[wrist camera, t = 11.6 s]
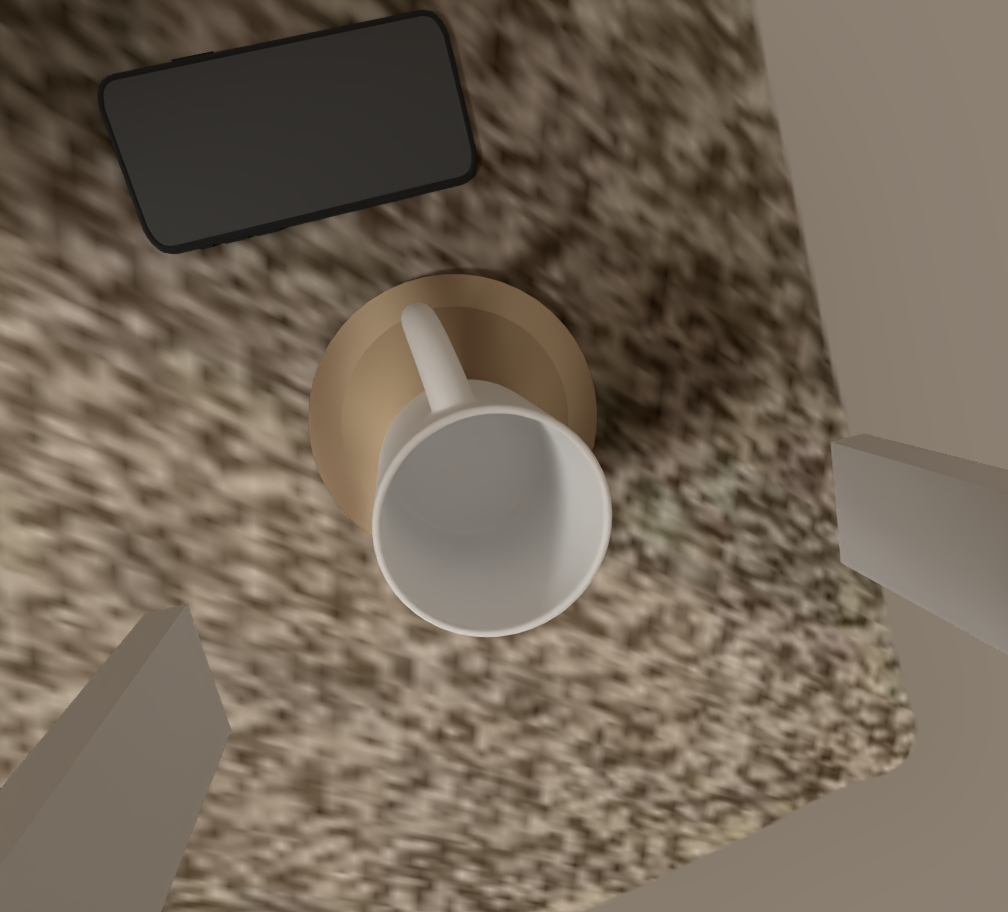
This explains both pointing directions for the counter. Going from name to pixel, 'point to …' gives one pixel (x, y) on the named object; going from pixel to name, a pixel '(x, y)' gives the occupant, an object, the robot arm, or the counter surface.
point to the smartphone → (289, 130)
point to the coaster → (396, 380)
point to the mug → (483, 500)
